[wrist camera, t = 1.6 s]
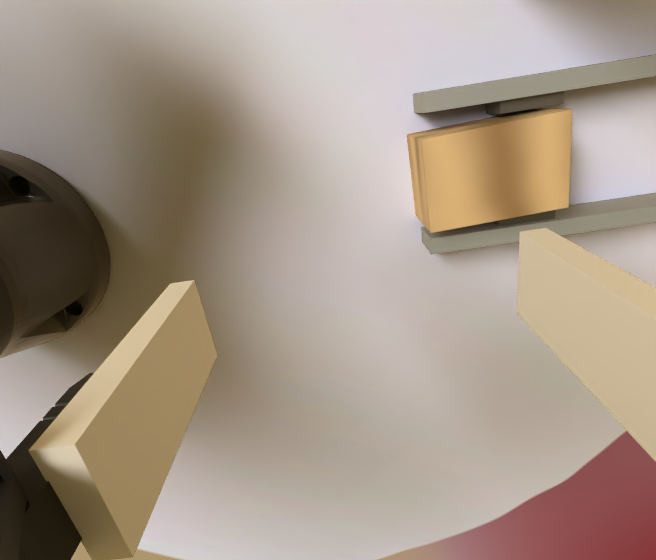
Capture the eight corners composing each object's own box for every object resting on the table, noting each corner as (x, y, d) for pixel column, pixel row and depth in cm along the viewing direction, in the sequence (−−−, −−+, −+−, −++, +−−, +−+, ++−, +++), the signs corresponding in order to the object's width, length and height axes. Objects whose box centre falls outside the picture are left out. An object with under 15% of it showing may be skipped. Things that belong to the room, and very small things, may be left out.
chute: (422, 244, 33) (438, 266, 28) (412, 90, 28) (430, 87, 24) (692, 205, 32) (754, 222, 27) (725, 39, 27) (807, 26, 23)
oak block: (415, 214, 32) (430, 233, 27) (406, 134, 30) (421, 139, 25) (532, 192, 31) (568, 207, 27) (532, 108, 29) (572, 109, 24)
